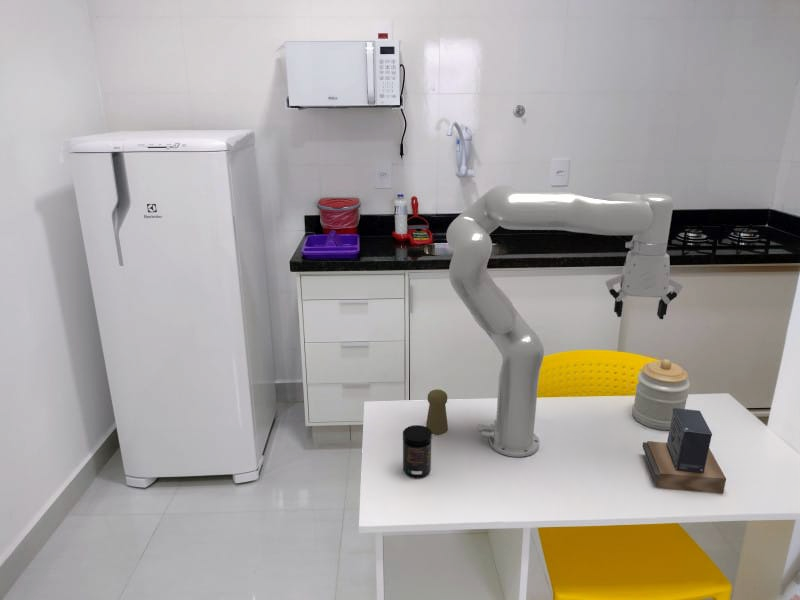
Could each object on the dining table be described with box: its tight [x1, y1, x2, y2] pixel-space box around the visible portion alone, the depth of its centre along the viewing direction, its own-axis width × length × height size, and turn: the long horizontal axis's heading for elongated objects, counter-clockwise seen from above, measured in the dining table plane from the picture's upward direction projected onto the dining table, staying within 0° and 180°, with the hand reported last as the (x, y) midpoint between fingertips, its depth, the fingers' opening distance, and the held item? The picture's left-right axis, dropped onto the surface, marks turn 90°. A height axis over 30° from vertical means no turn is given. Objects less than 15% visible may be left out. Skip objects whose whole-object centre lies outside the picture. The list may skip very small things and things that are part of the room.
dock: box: [641, 440, 727, 494], centre depth 146 cm, size 15×13×4 cm
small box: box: [666, 408, 713, 473], centre depth 144 cm, size 11×6×10 cm, turn 170°
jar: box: [632, 358, 691, 431], centre depth 167 cm, size 13×13×18 cm
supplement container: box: [402, 424, 433, 479], centre depth 146 cm, size 7×7×10 cm
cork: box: [425, 389, 449, 436], centre depth 163 cm, size 6×6×11 cm
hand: (639, 316), depth 151 cm, fingers open, 9 cm apart
